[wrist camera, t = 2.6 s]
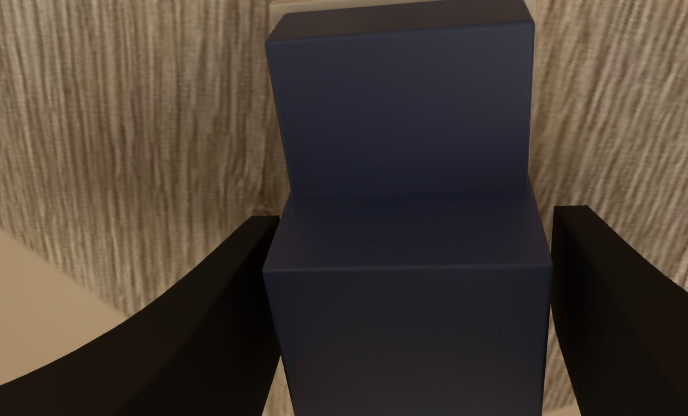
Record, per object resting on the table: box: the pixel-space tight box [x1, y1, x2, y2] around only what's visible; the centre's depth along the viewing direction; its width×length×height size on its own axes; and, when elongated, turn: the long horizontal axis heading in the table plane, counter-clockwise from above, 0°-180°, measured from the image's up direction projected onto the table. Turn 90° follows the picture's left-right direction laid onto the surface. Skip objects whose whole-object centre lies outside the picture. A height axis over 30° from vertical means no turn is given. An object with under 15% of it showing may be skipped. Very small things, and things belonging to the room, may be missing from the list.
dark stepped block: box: [262, 0, 553, 416], centre depth 11 cm, size 8×4×5 cm, turn 7°
